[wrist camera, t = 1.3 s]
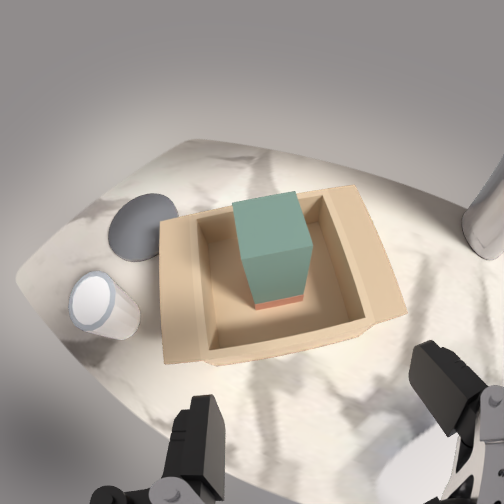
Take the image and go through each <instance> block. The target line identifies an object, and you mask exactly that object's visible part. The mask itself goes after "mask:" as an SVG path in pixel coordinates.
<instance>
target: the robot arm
mask: <svg viewBox="0 0 504 504" xmlns="http://www.w3.org/2000/svg"><path fill="white" fill-rule="evenodd" d="M462 228H463V232H464V235H465V237H466V239H467V241H468V243H469V244H470V246H471V247H472V248H473V250H474V251H475V252H476V253H477V254H478V255H480V256H481V257H483V258H485V259H488V260H494V259H496V258H498V257H499V256H500V255H501V254H502V253H503V252H504V155H503V157H502V158H501V160H500V162H499V163H498V165H497V167H496V168H495V170H494V171H493V173H492V175H491V176H490V178H489V179H488V181H487V182H486V184H485V186H484V187H483V188H482V190H481V191H480V193H479V194H478V196H477V197H476V198H475V200H474V201H473V203H472V204H471V205H470V207H469V208H468V209H467V211H466V212H465V214H464V215H463V218H462ZM409 381H410V384H411V386H412V387H413V389H414V390H415V392H416V393H417V394H418V396H419V397H420V398H421V400H422V401H423V403H424V404H425V405H426V407H427V408H428V410H429V411H430V413H431V414H432V415H433V417H434V418H435V420H436V421H437V423H438V424H439V425H440V427H441V428H442V430H443V431H444V433H445V434H446V436H447V437H450V436H451V435H453V434H455V433H456V432H457V433H458V434H459V437H458V439H457V445H456V452H455V458H454V463H453V469H452V473H451V477H450V480H449V482H448V484H447V486H446V488H445V490H444V492H443V495H442V498H441V500H439V499H438V497H435V498H434V499H431V500H430V501H428V502H426V503H425V504H504V387H502V386H498V385H493V386H487V385H486V384H485V383H484V382H483V381H482V380H481V379H480V378H479V377H478V375H477V374H476V373H475V372H474V371H473V370H472V369H471V368H470V367H469V366H466V364H465V363H464V362H463V361H462V360H460V358H459V357H458V356H457V355H456V354H455V353H454V352H453V351H451V350H449V349H446V348H444V347H442V348H440V347H439V346H438V345H437V344H436V343H435V342H434V341H432V340H429V341H426V342H424V343H422V344H419V345H417V346H415V347H414V349H413V354H412V359H411V365H410V370H409ZM224 479H225V424H224V420H223V417H222V415H221V412H220V410H219V407H218V405H217V403H216V400H215V398H214V396H213V395H212V394H211V395H200V396H193V397H192V400H191V405H190V409H188V410H181V411H180V412H179V414H178V415H177V417H176V418H175V419H174V423H173V427H172V433H171V437H170V442H169V447H168V452H167V456H166V462H165V467H164V472H163V475H162V477H161V479H159V480H158V481H156V482H155V483H154V484H153V485H152V486H151V488H148V489H144V490H138V491H131V492H123V491H121V490H120V489H118V488H117V487H114V486H102V487H100V488H98V489H97V490H95V492H94V493H93V494H92V497H91V500H90V504H215V501H224Z"/></svg>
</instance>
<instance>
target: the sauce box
mask: <svg viewBox="0 0 504 504" xmlns="http://www.w3.org/2000/svg"><path fill="white" fill-rule="evenodd" d="M232 206H233V212H234V219H235V225H236V231H237V237H238V243H239V249H240V255H241V261H242V264H243V267H244V271H245V274H246V277H247V280H248V284H249V287H250V290H251V293H252V297H253V300H254V305H255V308H256V310H261V309H267V308H272V307H277V306H282V305H286V304H291V303H296V302H301V301H303V297H304V290H305V285H306V280H307V275H308V270H309V265H310V260H311V255H312V249H313V243H312V240H311V237H310V234H309V231H308V228H307V225H306V221H305V218H304V215H303V212H302V210H301V207H300V204H299V201H298V198H297V195H296V192H295V191H293V192H287V193H281V194H276V195H270V196H265V197H259V198H254V199H249V200H244V201H239V202H234V203H232Z"/></svg>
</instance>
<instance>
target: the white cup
mask: <svg viewBox="0 0 504 504" xmlns="http://www.w3.org/2000/svg"><path fill="white" fill-rule="evenodd" d="M68 308H69V314H70V318H71V320H72V322H73V323H74V325H75V326H76V327H78V328H79V329H81V330H82V331H86V332H89V333H93V334H97V335H101V336H105V337H109V338H113V339H117V340H125V339H127V338H129V337H131V336H132V335H133V334H134V333H135V332H136V330H137V329H138V326H139V323H140V314H141V313H140V310H139V307H138V305H137V304H136V303H135V302H134V301H133V300H132V299H131V298H130V297H129V296H128V295H127V294H126V293H125V292H124V291H123V290H122V289H121V288H120V287H119V286H118V285H117V284H116V283H115V282H114V281H113V280H112V278H111V277H110V276H109V275H108V274H106V273H103V272H101V271H94V272H89V273H88V274H86V275H84V276H83V277H81V278H80V280H79V281H78V282H77V283H76V284H75V285H74V288H73V290H72V292H71V295H70V299H69V306H68Z"/></svg>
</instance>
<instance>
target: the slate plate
mask: <svg viewBox="0 0 504 504" xmlns="http://www.w3.org/2000/svg"><path fill="white" fill-rule="evenodd" d="M177 217H178V212H177V210H176V207H175V206H174V204H173V202H172V201H171V200H170V199H169V198H168V197H166V196H164V195H161V194H145V195H142V196H139V197H137V198H135V199H133V200H131V201H130V202H128V203H127V204H126V205H124V206H123V207H122V208H121V209H120V210H119V211H118V213H117V214H116V215H115V217H114V219H113V221H112V223H111V225H110V229H109V243H110V246H111V248H112V250H113V251H114V252H115V253H116V254H117V255H118V256H119V257H120V258H122V259H124V260H126V261H130V262H139V261H144V260H147V259H150V258H152V257H154V256H155V255H157V254H158V253H159V239H160V221H165V220H169V219H173V218H177Z"/></svg>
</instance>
